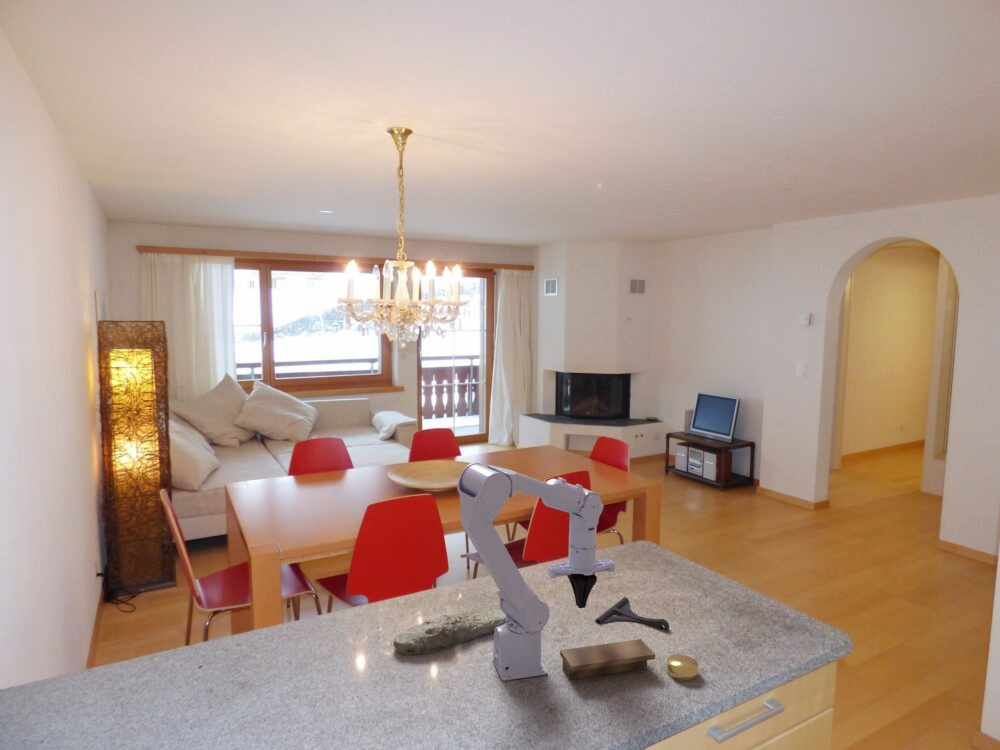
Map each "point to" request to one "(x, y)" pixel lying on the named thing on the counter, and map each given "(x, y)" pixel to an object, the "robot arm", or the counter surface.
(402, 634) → the elongated rock
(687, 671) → the brass puck
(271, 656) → the counter surface
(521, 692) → the counter surface
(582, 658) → the walnut shelf
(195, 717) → the counter surface
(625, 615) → the bracket
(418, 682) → the counter surface
